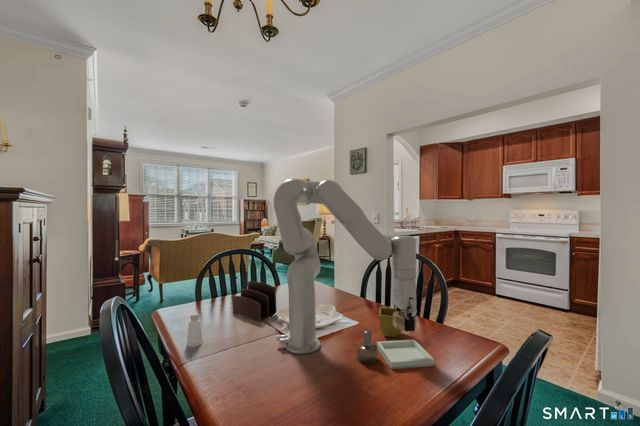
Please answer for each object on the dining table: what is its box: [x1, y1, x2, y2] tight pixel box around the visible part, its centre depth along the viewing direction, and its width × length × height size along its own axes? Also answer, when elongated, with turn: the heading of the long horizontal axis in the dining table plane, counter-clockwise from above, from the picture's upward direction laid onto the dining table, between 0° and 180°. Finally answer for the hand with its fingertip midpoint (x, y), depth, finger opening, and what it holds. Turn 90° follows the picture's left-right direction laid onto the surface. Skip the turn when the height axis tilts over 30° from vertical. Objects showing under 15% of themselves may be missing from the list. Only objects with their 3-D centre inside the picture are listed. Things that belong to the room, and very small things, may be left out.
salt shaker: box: [186, 312, 203, 348], centre depth 109 cm, size 5×5×11 cm
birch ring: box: [393, 311, 418, 332], centre depth 99 cm, size 7×7×4 cm
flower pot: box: [379, 307, 402, 338], centre depth 117 cm, size 9×9×9 cm
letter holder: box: [232, 280, 277, 323], centre depth 140 cm, size 10×20×14 cm, turn 52°
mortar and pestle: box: [356, 329, 379, 365], centre depth 98 cm, size 7×7×9 cm
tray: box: [376, 339, 435, 370], centre depth 100 cm, size 14×14×2 cm
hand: (404, 325), depth 99 cm, fingers closed on birch ring, 7 cm apart
